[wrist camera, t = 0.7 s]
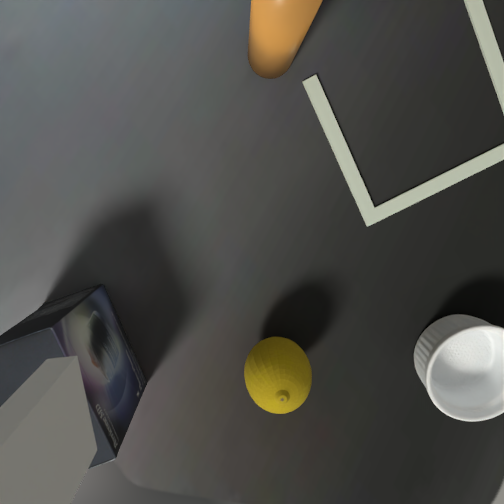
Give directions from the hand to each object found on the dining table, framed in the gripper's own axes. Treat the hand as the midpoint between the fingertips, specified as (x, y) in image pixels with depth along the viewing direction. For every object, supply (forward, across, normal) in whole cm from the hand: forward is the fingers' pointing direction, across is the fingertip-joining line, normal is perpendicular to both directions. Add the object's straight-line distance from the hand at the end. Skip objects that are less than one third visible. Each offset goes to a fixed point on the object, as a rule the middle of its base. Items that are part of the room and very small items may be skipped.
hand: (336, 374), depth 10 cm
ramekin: (+25, +16, -14) cm, 33 cm away
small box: (+26, -16, -9) cm, 32 cm away
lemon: (+25, 0, -12) cm, 28 cm away
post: (+25, +2, +14) cm, 29 cm away
